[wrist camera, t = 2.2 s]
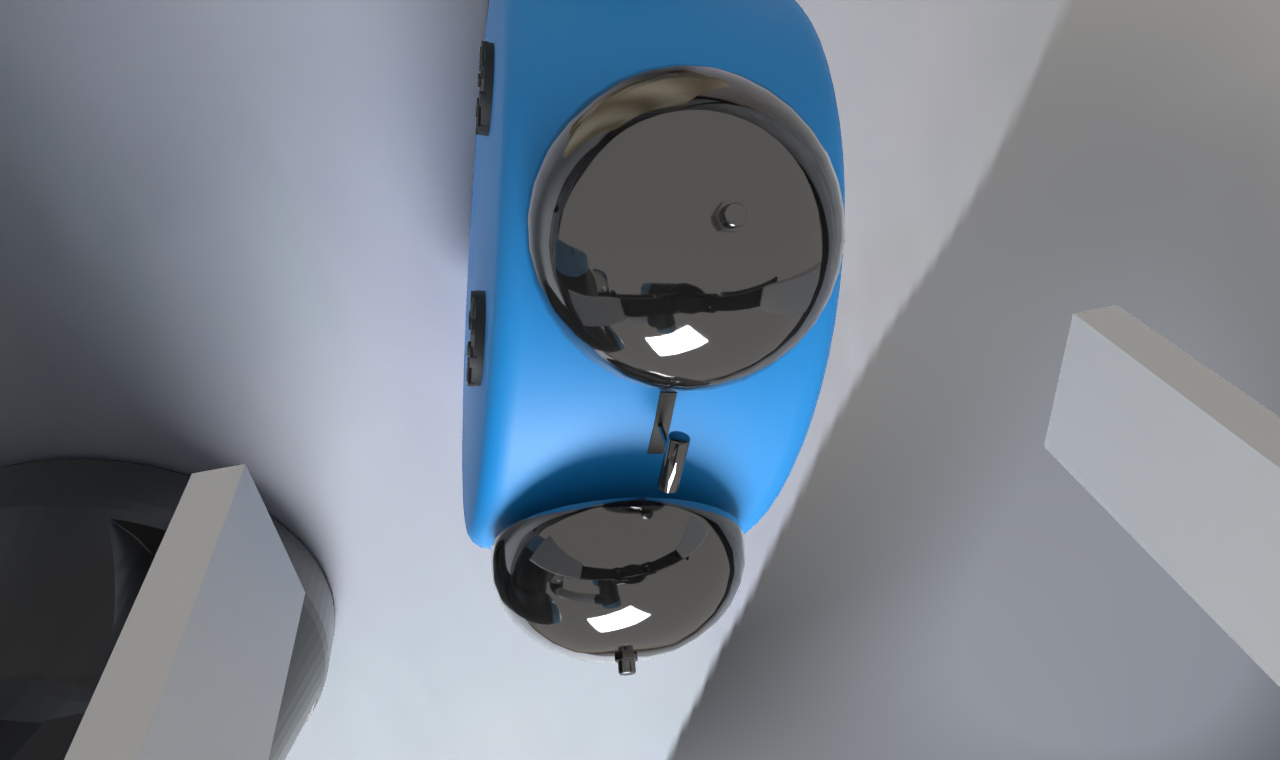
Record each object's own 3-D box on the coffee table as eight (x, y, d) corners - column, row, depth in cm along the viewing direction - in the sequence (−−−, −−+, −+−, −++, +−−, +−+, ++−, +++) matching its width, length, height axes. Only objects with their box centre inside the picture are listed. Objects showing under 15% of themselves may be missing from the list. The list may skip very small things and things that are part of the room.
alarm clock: (632, 365, 29) (763, 745, 17) (453, 356, 28) (449, 766, 15) (710, -46, 22) (1022, 73, 10) (480, -88, 21) (513, -8, 9)
